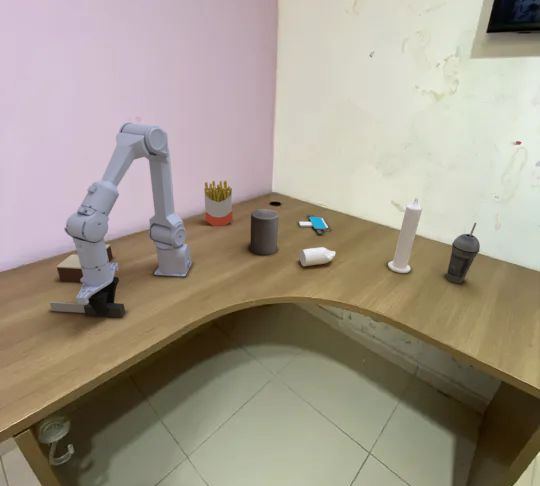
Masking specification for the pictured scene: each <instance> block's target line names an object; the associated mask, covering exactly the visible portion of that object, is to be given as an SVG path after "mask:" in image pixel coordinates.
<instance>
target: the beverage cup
mask: <svg viewBox="0 0 540 486" xmlns="http://www.w3.org/2000/svg"><path fill="white" fill-rule="evenodd" d="M476 226H477V222H474V224H473V226H472V229H471V231H470V233H464V234H460V235H458V236H456V238H454V240H453V242H452V243H451V245H452V246H451V254H450V258H449V263H448V268H447V273H446V279H447V280H448V281H450V282H452V283H456V284H461V283H463V282H464V280H465V277H466V276H467V274H468V272H469V271H470V268H471V266H472V264H473V262H474V260H475V258H476V257H477V255H478V253H480V248H481V244H480V240H479V239H478V237H476V236H474V235H473V233H474V231H475V229H476Z"/></svg>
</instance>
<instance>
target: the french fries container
mask: <svg viewBox="0 0 540 486" xmlns="http://www.w3.org/2000/svg"><path fill="white" fill-rule="evenodd" d="M204 207H205V208H204V212H205V221H206V222H207V223H208V224H210V225H211V226H213V227H215V226H227V225H228V224H229V223H230V222H232V221H233V188H232V187H231V185H228V181H227V180H223V182H222V180H219V183H217V184H216V181H215V180H212V182H211V183H209V185H208V181H205V182H204Z"/></svg>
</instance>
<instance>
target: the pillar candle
mask: <svg viewBox="0 0 540 486" xmlns="http://www.w3.org/2000/svg"><path fill="white" fill-rule="evenodd" d="M279 216H280V214H279V213H278V212H277V211H276V210H273V209H270V208H258V209H254V210H253V211H251V213H250V240H249V241H250V242H249V243H250V247H249V250H250V252H252V253H253V254H256V255H259V256H269V255H273V254H274V253H276V251H277V247H278V235H279V233H278V232H279V230H278V229H279Z"/></svg>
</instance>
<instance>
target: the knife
mask: <svg viewBox="0 0 540 486" xmlns="http://www.w3.org/2000/svg"><path fill="white" fill-rule="evenodd" d="M106 305H107V314H106V315H105V316H103V315H97V314H96V312H95V311H94V309H93V308H92V307H91V305H90V304H89V303H88V304H87V305H81V304H78V303H77V302H64V301H63V302H62V301H61V302H60V301H49V306H50V308H51V311H52V312H61V313H62V312H63V313H78V314H79V313H81V314H85V316H87V317H101V318H102V317H104V318H119V319H121V318H122V319H123V317H124V316H125V314H126V307H125V304H124V303H119V302H118V303H117V302H114V303H106Z"/></svg>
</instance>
